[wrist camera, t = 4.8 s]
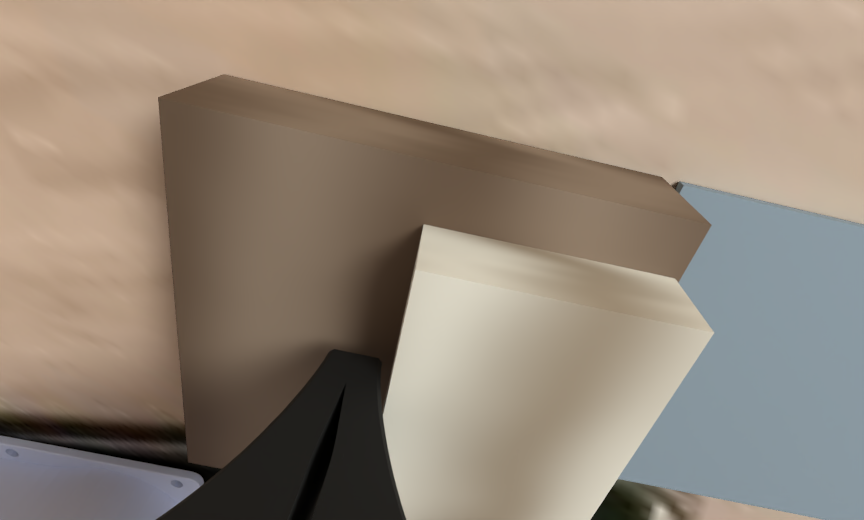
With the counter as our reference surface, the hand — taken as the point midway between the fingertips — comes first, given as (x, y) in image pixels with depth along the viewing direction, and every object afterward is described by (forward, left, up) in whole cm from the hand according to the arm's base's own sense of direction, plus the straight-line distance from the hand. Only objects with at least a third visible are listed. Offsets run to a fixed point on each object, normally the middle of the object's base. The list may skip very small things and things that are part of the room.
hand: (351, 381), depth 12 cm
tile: (+4, 0, -1) cm, 4 cm away
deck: (+1, 0, -4) cm, 4 cm away
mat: (+14, 0, -4) cm, 15 cm away
